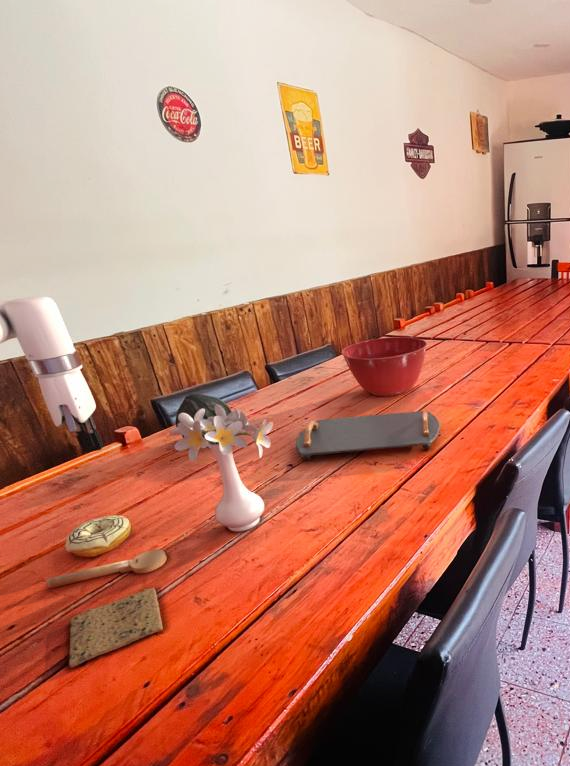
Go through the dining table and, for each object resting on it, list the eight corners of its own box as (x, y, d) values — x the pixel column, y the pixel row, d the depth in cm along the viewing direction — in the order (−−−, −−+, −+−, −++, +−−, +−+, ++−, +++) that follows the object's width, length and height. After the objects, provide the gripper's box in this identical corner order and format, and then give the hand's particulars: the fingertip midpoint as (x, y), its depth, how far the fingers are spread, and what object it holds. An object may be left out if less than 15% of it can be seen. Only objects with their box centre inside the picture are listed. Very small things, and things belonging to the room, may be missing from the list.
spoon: (42, 598, 88) (38, 590, 87) (53, 578, 93) (49, 570, 92) (164, 568, 94) (161, 560, 93) (168, 551, 98) (165, 543, 97)
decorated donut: (58, 563, 96) (50, 547, 95) (88, 531, 106) (81, 515, 104) (117, 555, 98) (110, 539, 96) (142, 524, 107) (135, 509, 106)
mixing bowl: (333, 391, 179) (325, 348, 172) (400, 372, 195) (395, 332, 189) (377, 411, 159) (370, 363, 153) (447, 387, 176) (444, 343, 170)
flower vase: (287, 534, 101) (258, 418, 91) (190, 546, 99) (147, 429, 88) (298, 500, 113) (273, 394, 102) (211, 510, 111) (176, 403, 100)
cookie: (164, 629, 79) (162, 625, 79) (69, 669, 73) (66, 664, 73) (156, 588, 88) (154, 584, 88) (70, 620, 82) (68, 616, 82)
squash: (237, 405, 155) (190, 377, 145) (248, 421, 144) (197, 392, 134) (208, 442, 154) (158, 416, 144) (216, 462, 143) (163, 435, 133)
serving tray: (289, 466, 128) (284, 443, 126) (307, 429, 149) (303, 409, 146) (442, 452, 131) (440, 430, 129) (439, 418, 152) (437, 398, 149)
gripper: (46, 357, 103) (83, 439, 111) (16, 378, 90) (61, 469, 98) (89, 352, 105) (123, 432, 113) (66, 371, 92) (105, 460, 101)
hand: (94, 449), depth 106 cm, fingers closed
